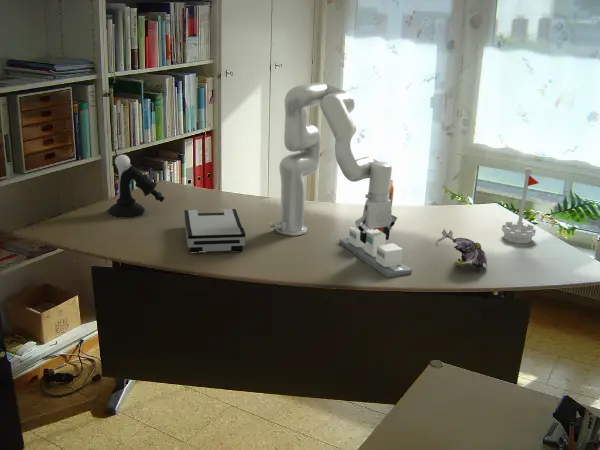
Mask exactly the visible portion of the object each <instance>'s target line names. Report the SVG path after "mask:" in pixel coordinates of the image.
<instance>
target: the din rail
mask: <svg viewBox="0 0 600 450" xmlns="http://www.w3.org/2000/svg"><path fill="white" fill-rule="evenodd" d="M347 239H349V237H347ZM364 247H365V246H363V247H360V248H362V249H363V250H364ZM374 258H376V256H374ZM389 268H390V269H392V270H393V271H395V272H396V271H402V270H403V269H402V268H400V267H399V266H397V265H396V266H390V267H389Z"/></svg>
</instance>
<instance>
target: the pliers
mask: <svg viewBox="0 0 600 450" xmlns="http://www.w3.org/2000/svg"><path fill="white" fill-rule="evenodd" d="M441 233H442V237H441V238H439V239H437V240H436V242H435V245H436V246H437V247H438V246H439V242H440V241H442V239H443V240H445V239H446V238H449V239H450V240H451V239H452V241H453V239H455V238H454V237H453V235H452V234H454V232H453V230H452V229H450V230H449V231H448V232H447V231H446V229H445V228H443V231H442V232H441ZM444 238H445V239H444ZM458 244H460V243H456V245H458Z"/></svg>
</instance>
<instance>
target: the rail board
mask: <svg viewBox="0 0 600 450" xmlns="http://www.w3.org/2000/svg"><path fill="white" fill-rule="evenodd" d="M347 238H348V237H347ZM347 238H339V240H338V241H339V244H340V245H342V246H343V247H345V248H346V249H347V250H349V251H350V252H351V253H353V254H354V255H355V256H357V257H358V258H359V259H361V260H363V261H364V262H365V263H367V265H369V266H371V267H372V268H373V269H375V270H376V271H378V272H379V273H381V274H382V275H383V276H385V277H386V279H387V278H393V277H399V276H403V275H404V276H405V275H409V274H412V273H413V270H412V268H410V267H409V266H407V265H406V264H404V263H403V262H401V265H397V266H399V267H400V268H402V269H403V270H402V271H396V272H395V271H393V270H392V269H390V268H389V267H383V266H382V265H381V264H379V263H378V262H376V258H374V257H372V256H371V255H369V254H368V253H367V252H365V251H364V250H363V249H362V248H360V247H355V246H354V245H352V244H351V243H349V239H347Z"/></svg>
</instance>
